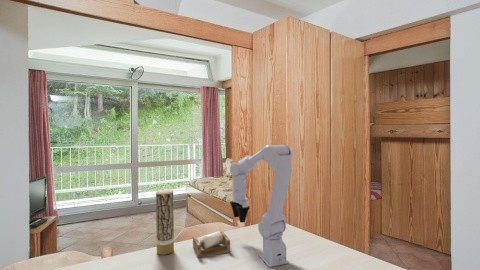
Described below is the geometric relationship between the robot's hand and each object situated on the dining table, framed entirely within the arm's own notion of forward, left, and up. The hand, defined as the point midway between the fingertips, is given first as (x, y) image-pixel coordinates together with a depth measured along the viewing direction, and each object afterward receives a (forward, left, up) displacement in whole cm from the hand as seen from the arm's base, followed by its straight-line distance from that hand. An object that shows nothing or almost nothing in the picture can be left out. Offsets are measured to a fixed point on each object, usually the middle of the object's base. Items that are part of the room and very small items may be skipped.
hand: (239, 219), depth 116 cm
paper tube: (+2, +32, -10) cm, 34 cm away
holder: (-4, +14, -10) cm, 18 cm away
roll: (-3, +14, -8) cm, 16 cm away
